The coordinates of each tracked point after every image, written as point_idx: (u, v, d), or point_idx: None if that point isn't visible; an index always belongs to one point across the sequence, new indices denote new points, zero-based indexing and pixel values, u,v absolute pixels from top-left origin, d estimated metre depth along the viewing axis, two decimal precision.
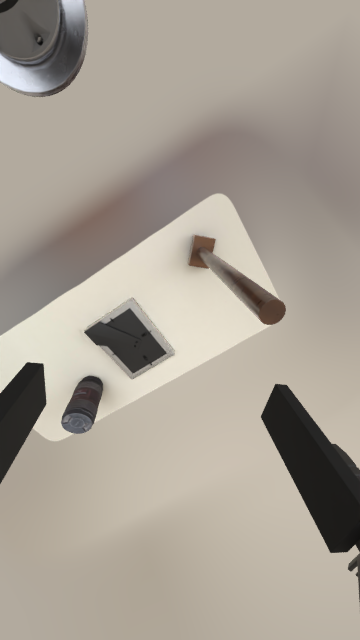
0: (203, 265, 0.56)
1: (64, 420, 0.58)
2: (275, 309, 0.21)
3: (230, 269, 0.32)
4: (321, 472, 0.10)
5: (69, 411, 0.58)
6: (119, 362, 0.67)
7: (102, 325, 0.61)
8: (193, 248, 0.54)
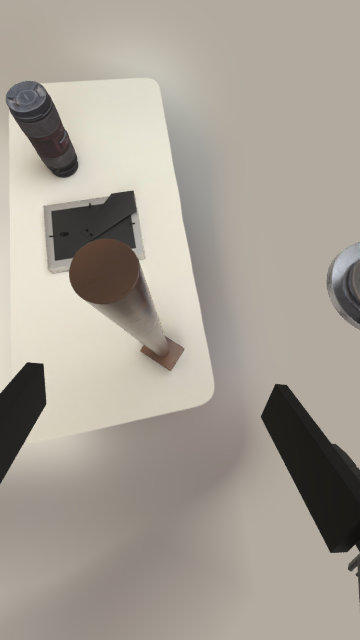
0: (146, 346, 0.44)
1: (40, 89, 0.43)
2: (109, 278, 0.08)
3: (161, 330, 0.21)
4: (321, 472, 0.10)
5: (49, 102, 0.43)
6: (75, 204, 0.52)
7: (131, 211, 0.51)
8: (171, 341, 0.44)
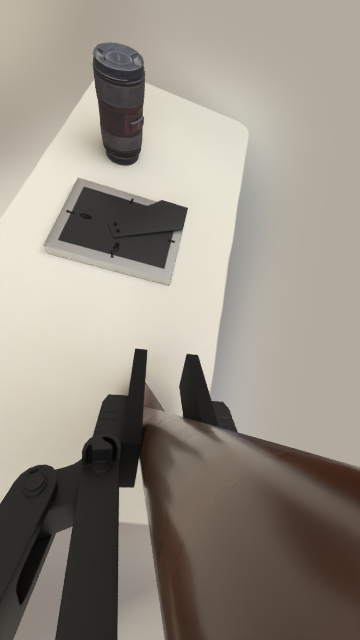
0: None
1: (137, 60, 0.36)
2: None
3: None
4: None
5: (141, 75, 0.36)
6: (114, 192, 0.42)
7: (175, 227, 0.41)
8: (161, 409, 0.30)
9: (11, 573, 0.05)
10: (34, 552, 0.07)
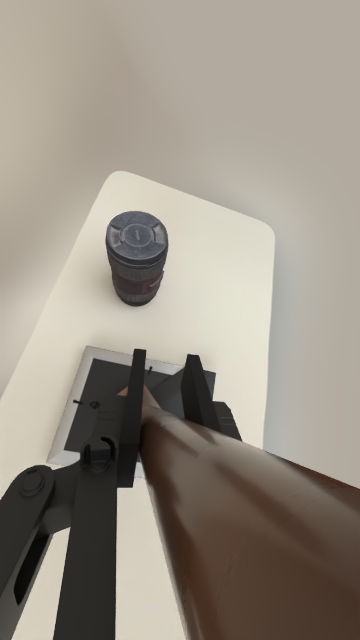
0: None
1: (159, 229, 0.30)
2: None
3: None
4: (196, 421, 0.11)
5: (165, 251, 0.29)
6: (130, 360, 0.35)
7: None
8: (155, 403, 0.30)
9: (9, 573, 0.05)
10: (32, 552, 0.07)
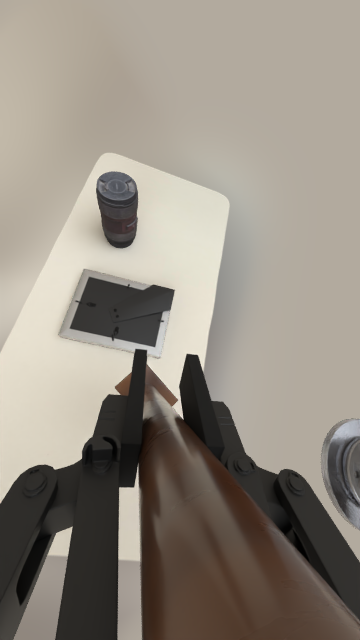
0: (125, 382, 0.30)
1: (131, 184, 0.46)
2: None
3: None
4: (195, 421, 0.11)
5: (135, 197, 0.45)
6: (114, 279, 0.51)
7: (164, 308, 0.51)
8: (162, 385, 0.31)
9: (11, 573, 0.05)
10: (34, 552, 0.07)
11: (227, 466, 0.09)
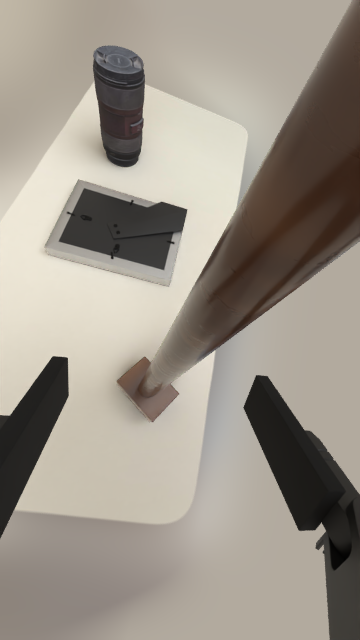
0: (127, 376, 0.30)
1: (137, 63, 0.37)
2: None
3: None
4: (292, 456, 0.10)
5: (141, 77, 0.36)
6: (115, 194, 0.42)
7: (175, 228, 0.42)
8: None
9: None
10: None
11: (353, 506, 0.08)
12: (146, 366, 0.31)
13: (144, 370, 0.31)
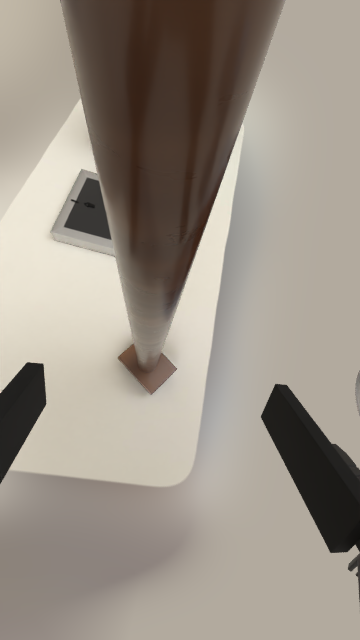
0: (127, 353, 0.32)
1: None
2: None
3: (180, 297, 0.10)
4: (321, 472, 0.10)
5: None
6: None
7: None
8: (161, 355, 0.33)
9: None
10: None
11: None
12: None
13: None
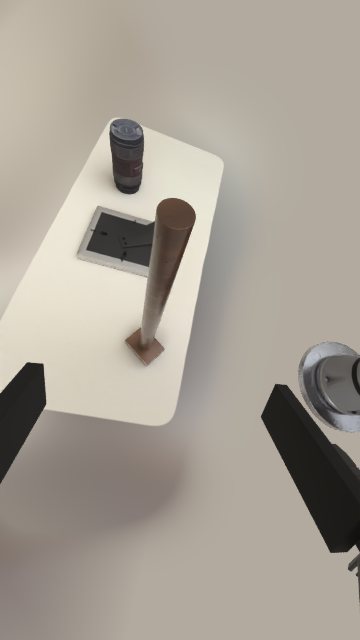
0: (132, 337, 0.48)
1: (139, 129, 0.55)
2: (178, 218, 0.15)
3: (166, 301, 0.27)
4: (321, 472, 0.10)
5: (141, 140, 0.54)
6: (123, 215, 0.60)
7: None
8: (154, 339, 0.49)
9: None
10: None
11: None
12: None
13: None
